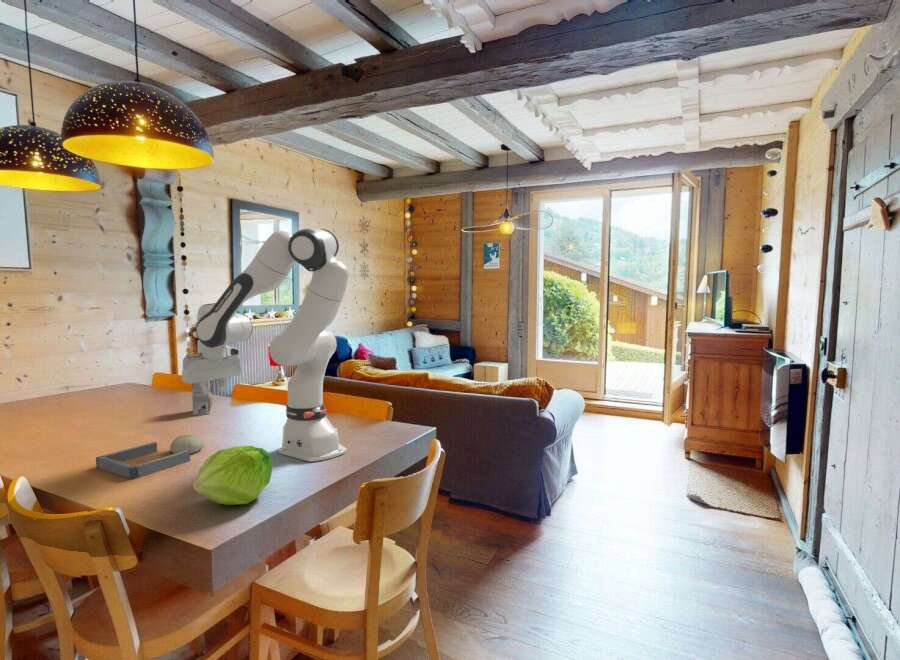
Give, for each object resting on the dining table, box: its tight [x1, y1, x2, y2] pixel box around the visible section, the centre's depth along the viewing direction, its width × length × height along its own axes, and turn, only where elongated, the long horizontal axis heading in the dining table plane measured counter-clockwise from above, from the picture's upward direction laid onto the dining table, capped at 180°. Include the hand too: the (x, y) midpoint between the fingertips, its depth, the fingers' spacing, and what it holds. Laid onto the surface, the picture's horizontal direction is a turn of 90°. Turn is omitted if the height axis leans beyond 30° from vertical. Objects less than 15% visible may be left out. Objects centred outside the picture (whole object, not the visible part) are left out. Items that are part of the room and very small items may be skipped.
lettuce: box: [192, 445, 273, 506], centre depth 114 cm, size 15×20×14 cm
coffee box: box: [191, 380, 214, 416], centre depth 199 cm, size 9×6×16 cm
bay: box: [95, 441, 191, 480], centre depth 139 cm, size 16×18×3 cm
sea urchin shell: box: [169, 434, 205, 455], centre depth 151 cm, size 9×8×8 cm
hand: (213, 392), depth 158 cm, fingers open, 4 cm apart
